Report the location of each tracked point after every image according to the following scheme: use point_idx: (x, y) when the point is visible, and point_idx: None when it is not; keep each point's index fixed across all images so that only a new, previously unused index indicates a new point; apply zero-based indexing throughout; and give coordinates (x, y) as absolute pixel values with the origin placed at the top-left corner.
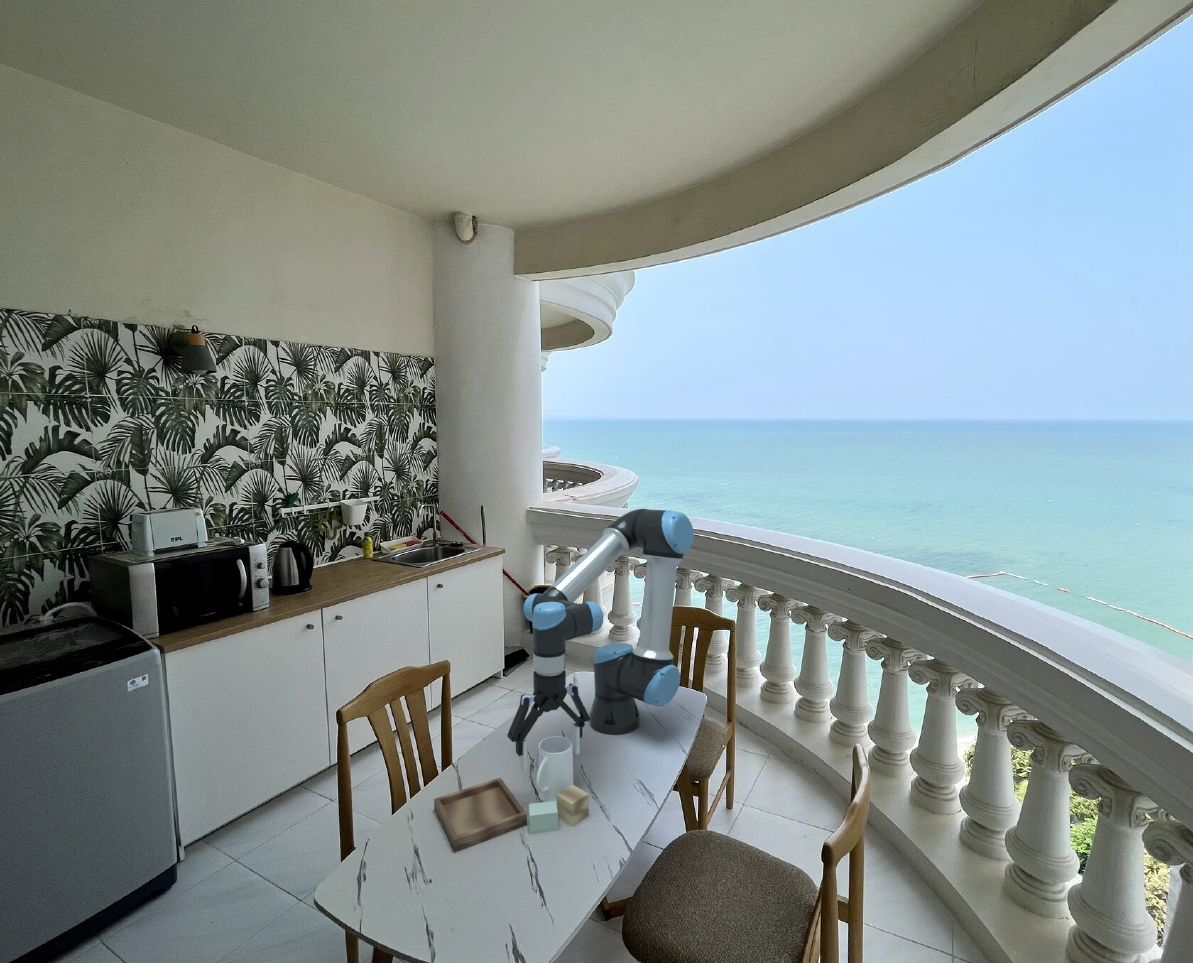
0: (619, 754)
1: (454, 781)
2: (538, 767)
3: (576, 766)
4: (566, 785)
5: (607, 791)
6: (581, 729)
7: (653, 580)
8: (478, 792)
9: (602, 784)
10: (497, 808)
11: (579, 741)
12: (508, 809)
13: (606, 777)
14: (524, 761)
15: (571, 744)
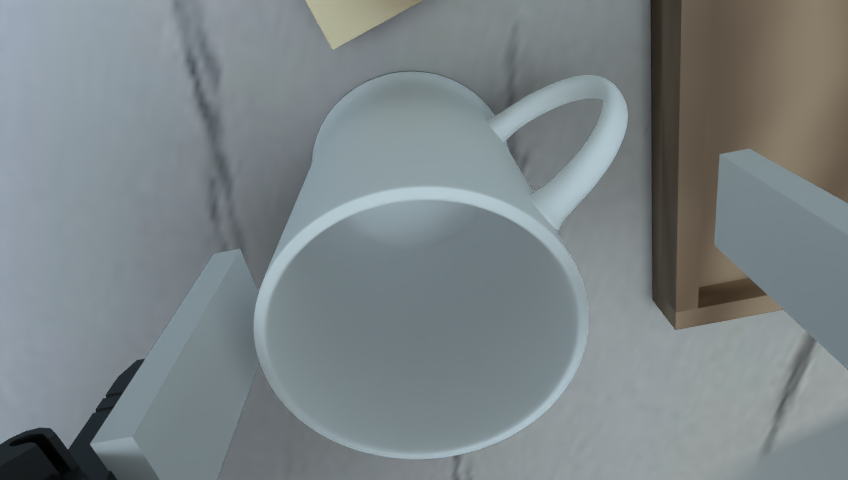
0: (19, 375)
1: (809, 391)
2: None
3: None
4: (370, 106)
5: (118, 93)
6: (93, 431)
7: None
8: None
9: (141, 166)
10: (760, 122)
11: (172, 319)
12: (713, 92)
13: (110, 219)
14: (797, 181)
15: (267, 299)
